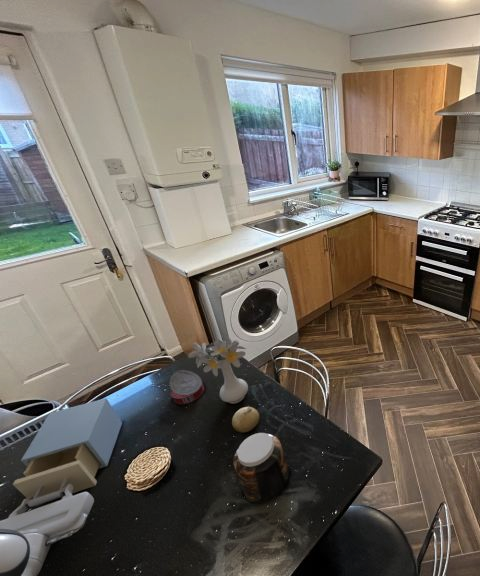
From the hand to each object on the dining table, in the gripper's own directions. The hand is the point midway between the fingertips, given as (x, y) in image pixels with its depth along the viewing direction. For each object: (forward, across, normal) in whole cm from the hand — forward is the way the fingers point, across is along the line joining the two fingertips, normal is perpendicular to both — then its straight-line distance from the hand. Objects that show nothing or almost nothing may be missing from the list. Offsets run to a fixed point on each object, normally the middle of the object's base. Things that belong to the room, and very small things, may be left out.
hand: (49, 492), depth 77 cm
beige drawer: (+7, 0, +6) cm, 10 cm away
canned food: (+30, -26, +7) cm, 40 cm away
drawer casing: (+17, 0, +7) cm, 18 cm away
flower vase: (+20, -41, +7) cm, 46 cm away
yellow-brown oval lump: (+6, -45, +7) cm, 46 cm away
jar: (-14, -49, +7) cm, 52 cm away
